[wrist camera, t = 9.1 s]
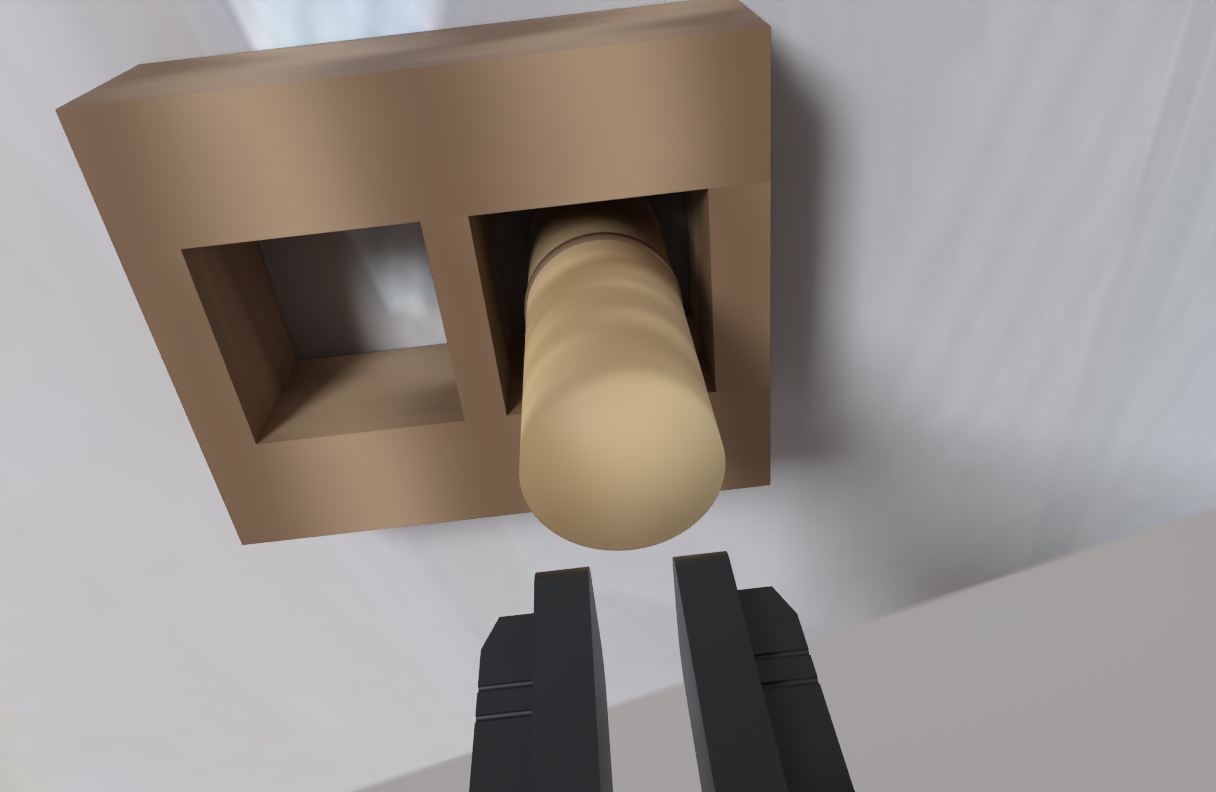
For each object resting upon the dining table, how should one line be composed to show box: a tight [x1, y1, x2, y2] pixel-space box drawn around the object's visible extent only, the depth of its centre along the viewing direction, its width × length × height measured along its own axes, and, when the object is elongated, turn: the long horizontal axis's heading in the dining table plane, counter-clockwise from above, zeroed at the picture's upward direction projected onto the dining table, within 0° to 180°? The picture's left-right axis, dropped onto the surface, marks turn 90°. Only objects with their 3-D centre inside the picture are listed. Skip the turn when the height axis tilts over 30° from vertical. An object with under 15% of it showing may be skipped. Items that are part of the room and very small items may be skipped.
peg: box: [519, 196, 726, 551], centre depth 19 cm, size 4×4×10 cm
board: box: [56, 0, 771, 545], centre depth 21 cm, size 14×11×4 cm
